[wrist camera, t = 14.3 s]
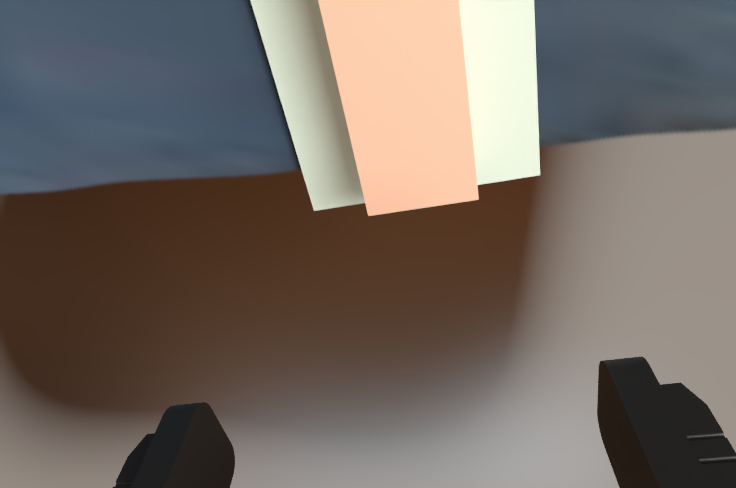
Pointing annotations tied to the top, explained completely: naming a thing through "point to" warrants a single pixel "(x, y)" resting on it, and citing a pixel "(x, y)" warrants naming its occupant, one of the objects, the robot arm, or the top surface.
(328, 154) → the mat
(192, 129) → the top surface
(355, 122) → the peach rectangular slab
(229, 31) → the top surface
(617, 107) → the top surface
